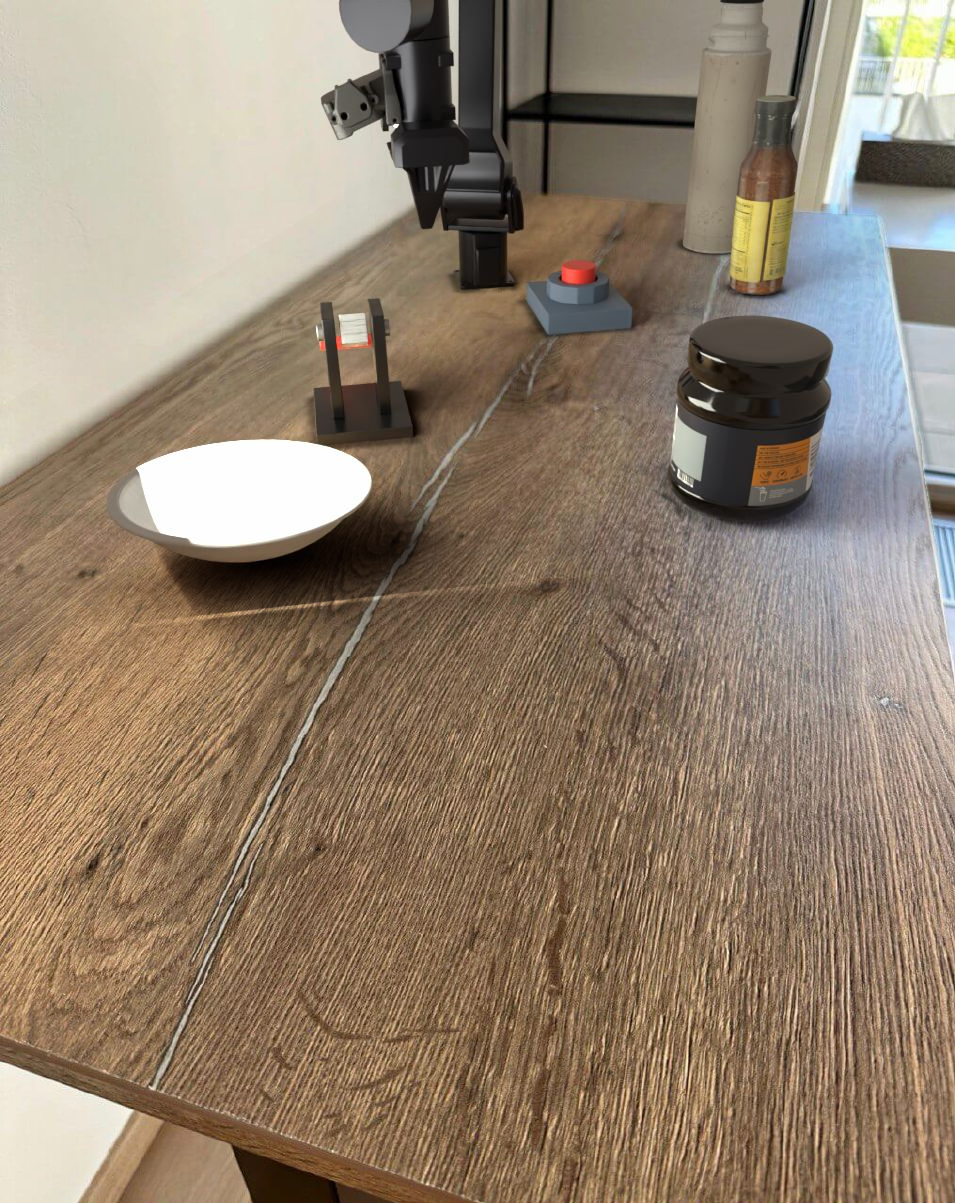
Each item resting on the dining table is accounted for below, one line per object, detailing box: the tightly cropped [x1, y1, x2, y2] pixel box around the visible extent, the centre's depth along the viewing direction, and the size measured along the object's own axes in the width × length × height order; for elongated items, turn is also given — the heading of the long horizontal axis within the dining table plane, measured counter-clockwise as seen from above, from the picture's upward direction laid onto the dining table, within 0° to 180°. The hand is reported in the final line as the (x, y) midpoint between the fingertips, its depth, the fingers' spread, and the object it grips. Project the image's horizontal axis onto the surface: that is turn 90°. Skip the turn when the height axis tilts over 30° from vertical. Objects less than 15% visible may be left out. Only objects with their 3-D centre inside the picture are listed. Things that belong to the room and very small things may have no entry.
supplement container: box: [667, 315, 834, 523], centre depth 69 cm, size 10×10×12 cm
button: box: [561, 259, 597, 284], centre depth 102 cm, size 4×4×2 cm
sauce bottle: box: [728, 94, 798, 296], centre depth 105 cm, size 7×6×20 cm
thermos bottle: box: [682, 0, 773, 255], centre depth 117 cm, size 8×8×28 cm
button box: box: [526, 269, 634, 336], centre depth 104 cm, size 11×9×4 cm
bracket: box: [313, 297, 414, 446], centre depth 81 cm, size 10×8×10 cm
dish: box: [105, 439, 373, 563], centre depth 65 cm, size 18×14×5 cm
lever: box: [319, 312, 372, 352], centre depth 84 cm, size 13×6×2 cm, turn 9°
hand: (426, 228), depth 90 cm, fingers closed
